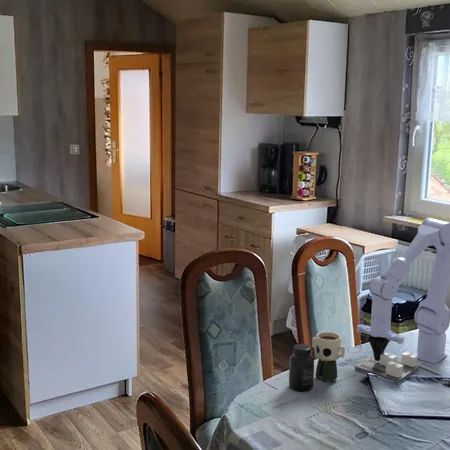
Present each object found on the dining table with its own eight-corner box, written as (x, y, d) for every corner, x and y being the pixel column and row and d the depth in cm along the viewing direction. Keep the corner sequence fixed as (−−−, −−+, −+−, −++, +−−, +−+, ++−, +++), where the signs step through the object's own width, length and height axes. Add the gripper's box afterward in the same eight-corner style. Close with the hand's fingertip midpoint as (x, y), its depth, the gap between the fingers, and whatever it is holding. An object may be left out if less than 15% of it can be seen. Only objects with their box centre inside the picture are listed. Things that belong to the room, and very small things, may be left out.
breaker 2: (404, 360, 187) (405, 351, 187) (417, 364, 185) (418, 354, 184) (401, 363, 185) (401, 353, 185) (413, 367, 183) (414, 357, 182)
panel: (377, 356, 194) (377, 352, 194) (419, 369, 185) (419, 365, 185) (354, 369, 184) (355, 365, 184) (398, 384, 175) (398, 380, 175)
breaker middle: (383, 361, 186) (384, 351, 186) (396, 365, 184) (396, 355, 183) (379, 364, 185) (380, 354, 184) (392, 368, 182) (392, 357, 181)
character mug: (303, 376, 179) (305, 333, 176) (317, 369, 184) (320, 327, 182) (335, 388, 172) (337, 344, 169) (349, 380, 177) (351, 337, 174)
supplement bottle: (312, 382, 175) (314, 343, 172) (313, 393, 168) (315, 352, 166) (288, 381, 175) (290, 341, 173) (288, 392, 169) (290, 351, 166)
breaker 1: (389, 370, 180) (390, 360, 179) (402, 375, 177) (403, 364, 177) (385, 373, 178) (386, 363, 177) (398, 377, 175) (399, 367, 175)
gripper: (352, 314, 185) (350, 356, 188) (397, 326, 176) (394, 370, 179) (364, 309, 191) (361, 350, 193) (408, 320, 181) (405, 363, 184)
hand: (378, 359), depth 186 cm, fingers closed
